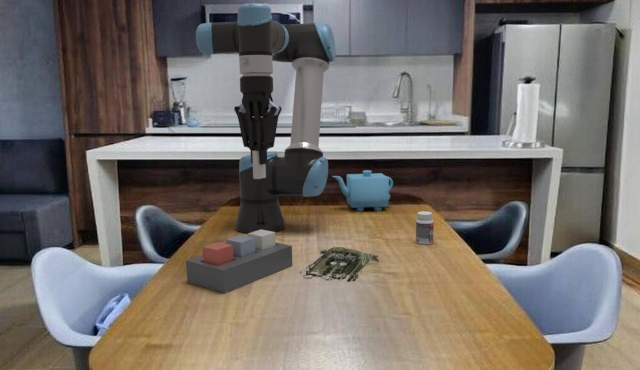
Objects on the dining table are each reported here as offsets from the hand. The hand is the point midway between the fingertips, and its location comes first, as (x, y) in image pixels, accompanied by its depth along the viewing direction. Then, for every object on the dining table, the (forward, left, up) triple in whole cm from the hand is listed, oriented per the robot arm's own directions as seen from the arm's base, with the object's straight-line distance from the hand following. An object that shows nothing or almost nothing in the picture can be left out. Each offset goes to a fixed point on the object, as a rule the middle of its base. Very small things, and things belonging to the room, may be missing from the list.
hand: (259, 177), depth 125 cm
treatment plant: (+15, +12, -22) cm, 29 cm away
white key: (0, 0, -17) cm, 17 cm away
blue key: (0, -7, -17) cm, 19 cm away
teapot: (-15, +68, -22) cm, 73 cm away
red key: (0, -14, -17) cm, 22 cm away
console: (0, -7, -22) cm, 23 cm away
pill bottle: (+23, +40, -22) cm, 51 cm away
